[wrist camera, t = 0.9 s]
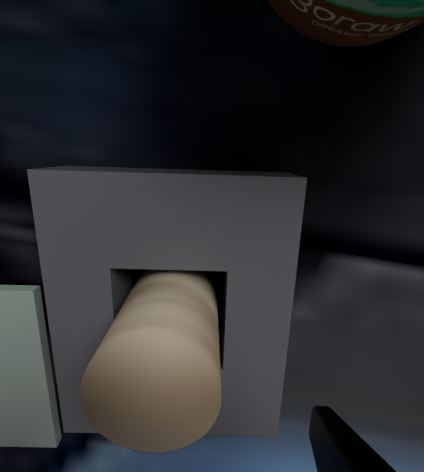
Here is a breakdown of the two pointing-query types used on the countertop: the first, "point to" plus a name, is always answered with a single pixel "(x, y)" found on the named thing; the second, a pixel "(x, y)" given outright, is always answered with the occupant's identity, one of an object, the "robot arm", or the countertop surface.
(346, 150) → the countertop surface
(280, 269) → the grey square frame
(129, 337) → the plug
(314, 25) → the food container
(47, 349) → the mat
